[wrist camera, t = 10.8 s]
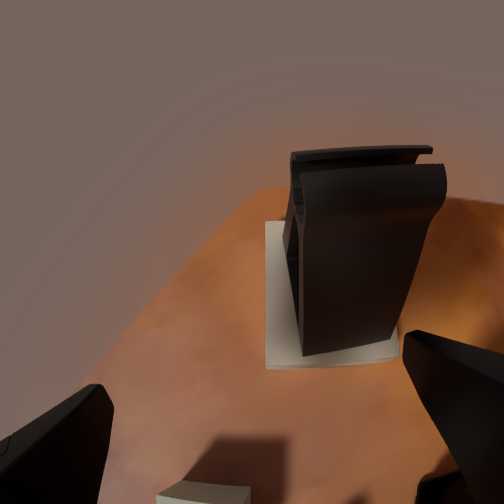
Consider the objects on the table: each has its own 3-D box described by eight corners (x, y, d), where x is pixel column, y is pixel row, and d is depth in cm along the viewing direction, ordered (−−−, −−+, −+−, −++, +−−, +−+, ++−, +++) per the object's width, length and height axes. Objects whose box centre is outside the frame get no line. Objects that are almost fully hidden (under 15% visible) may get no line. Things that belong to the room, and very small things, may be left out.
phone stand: (388, 341, 18) (490, 252, 8) (301, 358, 18) (327, 281, 8) (357, 229, 23) (395, 96, 12) (282, 238, 23) (276, 98, 12)
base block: (369, 235, 25) (376, 218, 23) (388, 361, 20) (399, 355, 17) (267, 238, 26) (265, 221, 24) (267, 369, 20) (265, 365, 18)
